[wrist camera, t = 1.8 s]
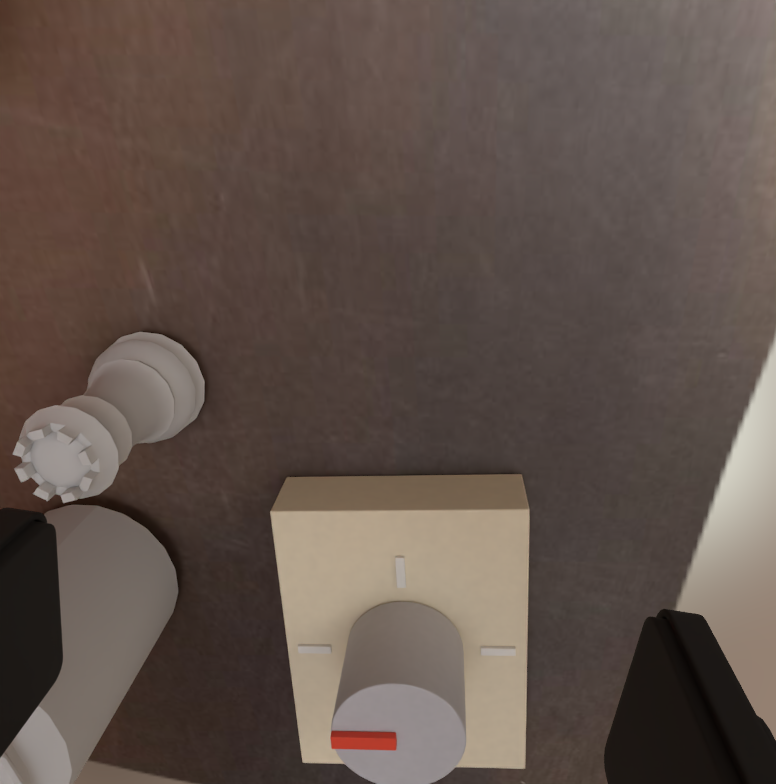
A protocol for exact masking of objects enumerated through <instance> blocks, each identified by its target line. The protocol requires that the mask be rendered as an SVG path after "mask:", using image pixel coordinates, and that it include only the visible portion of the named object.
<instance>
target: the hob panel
mask: <svg viewBox="0 0 776 784" xmlns="http://www.w3.org/2000/svg"><path fill="white" fill-rule="evenodd" d="M270 515H271V523H272V531H273V538H274V546H275V554H276V561H277V569H278V577H279V585H280V592H281V600H282V608H283V615H284V623H285V631H286V639H287V646H288V654H289V662H290V669H291V677H292V685H293V693H294V700H295V708H296V716H297V723H298V731H299V739H300V747H301V754H302V761H303V763H330V764H345V763H344V762H343V761H342V760H341V758H340V757H339V756H338V754H337V752H336V750H335V749H332V748H331V739H330V736H331V724H332V718H333V713H334V708H335V703H336V698H337V693H338V688H339V683H340V678H341V673H342V668H343V663H344V658H345V653H346V648H347V643H348V638H349V635H350V632H351V630H352V628H353V626H354V624H355V623H356V622H357V620H358V619H359V618H360V617H361V616H362V615H364V614H365V613H366V612H368V611H369V610H371V609H373V608H375V607H377V606H380V605H383V604H386V603H392V602H413V603H418V604H422V605H425V606H428V607H430V608H433V609H434V610H436V611H438V612H440V613H441V614H443V615H444V616H445V617H446V618H447V619H449V620H450V621H451V623H452V624H453V625H454V626H455V628H456V629H457V631H458V632H459V635H460V637H461V639H462V643H463V650H464V680H465V712H466V747H465V751H464V754H463V756H462V758H461V760H460V761H459V763H458V765H457V766H456V767H476V768H513V769H525V763H526V704H527V644H528V584H529V525H530V509H529V505H528V500H527V496H526V491H525V487H524V482H523V478H522V475H521V474H486V475H408V476H330V477H287V478H286V480H285V482H284V484H283V486H282V488H281V490H280V492H279V494H278V497H277V499H276V501H275V503H274V505H273V507H272V509H271V511H270Z"/></svg>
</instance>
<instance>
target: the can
mask: <svg viewBox="0 0 776 784" xmlns="http://www.w3.org/2000/svg"><path fill="white" fill-rule="evenodd" d="M44 515H45V517H46V519H47V523H49V524H52V525H54V527H55V529H56V538H57V556H58V574H59V592H60V609H61V627H62V645H63V663H62V668H61V671H60V674H59V676H58V678H57V680H56V682H55V683H54V685H53V686H52V687H51V689H50V690H49V692H48V693H47V694H46V696H45V697H44V698H43V700H42V701H41V703H40V704H39V705H38V707H37V708H36V709H35V711H34V712H33V714H32V715H31V716H30V718H29V719H28V720H27V722H26V723H25V725H24V726H23V727H22V729H21V730H20V732H19V733H18V734H17V736H16V737H15V738H14V740H13V741H12V743H11V744H10V745H9V747H8V748H7V749H6V751H5V752H4V754H3V755H2V756H1V758H0V784H74V782H75V781H76V779H77V777H78V775H79V774H80V772H81V770H82V769H83V767H84V765H85V764H86V762H87V760H88V758H89V757H90V755H91V753H92V751H93V750H94V748H95V746H96V745H97V743H98V741H99V739H100V738H101V736H102V734H103V732H104V731H105V729H106V727H107V726H108V724H109V722H110V720H111V719H112V717H113V715H114V714H115V712H116V710H117V708H118V707H119V705H120V703H121V701H122V700H123V698H124V696H125V695H126V693H127V691H128V689H129V688H130V686H131V684H132V682H133V681H134V679H135V677H136V676H137V674H138V672H139V670H140V669H141V667H142V665H143V663H144V662H145V660H146V658H147V657H148V655H149V653H150V651H151V650H152V648H153V646H154V644H155V643H156V641H157V639H158V638H159V636H160V634H161V632H162V631H163V629H164V627H165V625H166V624H167V622H168V620H169V619H170V617H171V615H172V613H173V612H174V608H175V604H176V599H177V595H178V585H177V577H176V570H175V568H174V566H173V564H172V562H171V560H170V558H169V556H168V554H167V552H166V550H165V548H164V547H163V545H162V544H161V543H160V542H159V541H158V540H157V539H156V538H155V537H154V536H153V535H152V534H151V533H150V531H149V530H148V529H147V528H145V527H144V526H142V525H140V524H139V523H137V522H136V521H134V520H132V519H131V518H129V517H128V516H126V515H125V514H122V513H119V512H116V511H113V510H110V509H107V508H104V507H100V506H96V505H68V506H65V507H61V508H58V509H54V510H50V511H48V512H46V513H45V514H44Z"/></svg>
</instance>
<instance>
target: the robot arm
mask: <svg viewBox="0 0 776 784" xmlns="http://www.w3.org/2000/svg"><path fill="white" fill-rule="evenodd" d="M62 663H63V645H62V627H61V609H60V592H59V574H58V556H57V538H56V529H55V527H54V525H52V524H49V523H47V519H46V517H45V515H44V514H42V513H39V512H33V511H26V510H20V509H13V508H3V509H1V510H0V758H1V756H2V755H3V754H4V752H5V751H6V749H7V748H8V747H9V745H10V744H11V743H12V741H13V740H14V738H15V737H16V736H17V734H18V733H19V732H20V730H21V729H22V727H23V726H24V725H25V723H26V722H27V720H28V719H29V718H30V716H31V715H32V714H33V712H34V711H35V709H36V708H37V707H38V705H39V704H40V703H41V701H42V700H43V698H44V697H45V696H46V694H47V693H48V692H49V690H50V689H51V687H52V686H53V685H54V683H55V682H56V680H57V678H58V676H59V674H60V671H61V668H62ZM604 765H605V772H606V777H607V781H608V784H776V740H775V739H774V737H773V735H772V733H771V731H770V729H769V728H768V726H767V725H766V724H765V722H764V721H763V719H761V718H760V717H758V716H757V715H756V713H755V711H754V710H753V708H752V706H751V704H750V702H749V700H748V699H747V697H746V695H745V693H744V691H743V689H742V687H741V685H740V683H739V681H738V680H737V678H736V676H735V674H734V672H733V670H732V668H731V666H730V665H729V663H728V661H727V659H726V657H725V655H724V653H723V652H722V650H721V648H720V646H719V644H718V642H717V640H716V638H715V637H714V635H713V633H712V631H711V629H710V627H709V625H708V623H707V621H706V620H705V619H704V617H703V616H701V615H699V614H692V613H686V612H680V611H674V610H667V609H663V610H661V611H660V612H659V613H658V614H657V617H648V618H647V619H646V620H645V622H644V625H643V628H642V631H641V634H640V637H639V641H638V644H637V647H636V650H635V653H634V657H633V660H632V663H631V666H630V669H629V673H628V676H627V679H626V682H625V685H624V689H623V692H622V695H621V698H620V701H619V705H618V708H617V711H616V714H615V717H614V721H613V724H612V727H611V730H610V733H609V737H608V740H607V743H606V747H605V754H604Z"/></svg>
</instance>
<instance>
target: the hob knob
mask: <svg viewBox="0 0 776 784" xmlns="http://www.w3.org/2000/svg"><path fill="white" fill-rule="evenodd" d="M330 739H331V748H332V749H335V750H336V752H337V754H338V756H339V757H340V758H341V760H342V761H343V762H344V763H345V764H346V765H347V766H348V767H349V768H350V769H351V770H352V771H353V772H355V773H356V774H358V775H359V776H361V777H363V778H365V779H367V780H369V781H372V782H374V783H377V784H430V783H433V782H435V781H437V780H439V779H441V778H443V777H444V776H446V775H447V774H449V773H450V772H451V771H452V770H453V769H454V768H455V767H456V766H457V765H458V763H459V761H460V760H461V758H462V756H463V754H464V751H465V747H466V712H465V680H464V650H463V643H462V639H461V637H460V635H459V632H458V631H457V629H456V628H455V626H454V625H453V624H452V623H451V621H450V620H449V619H447V618H446V617H445V616H444V615H443V614H441V613H440V612H438V611H436V610H434V609H433V608H430V607H428V606H425V605H422V604H418V603H413V602H392V603H386V604H383V605H380V606H377V607H375V608H373V609H371V610H369V611H368V612H366V613H365V614H364V615H362V616H361V617H360V618H359V619H358V620H357V622H356V623H355V624H354V626H353V628H352V630H351V632H350V635H349V638H348V643H347V648H346V653H345V658H344V663H343V668H342V673H341V678H340V683H339V688H338V693H337V698H336V703H335V708H334V713H333V718H332V724H331V736H330Z"/></svg>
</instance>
